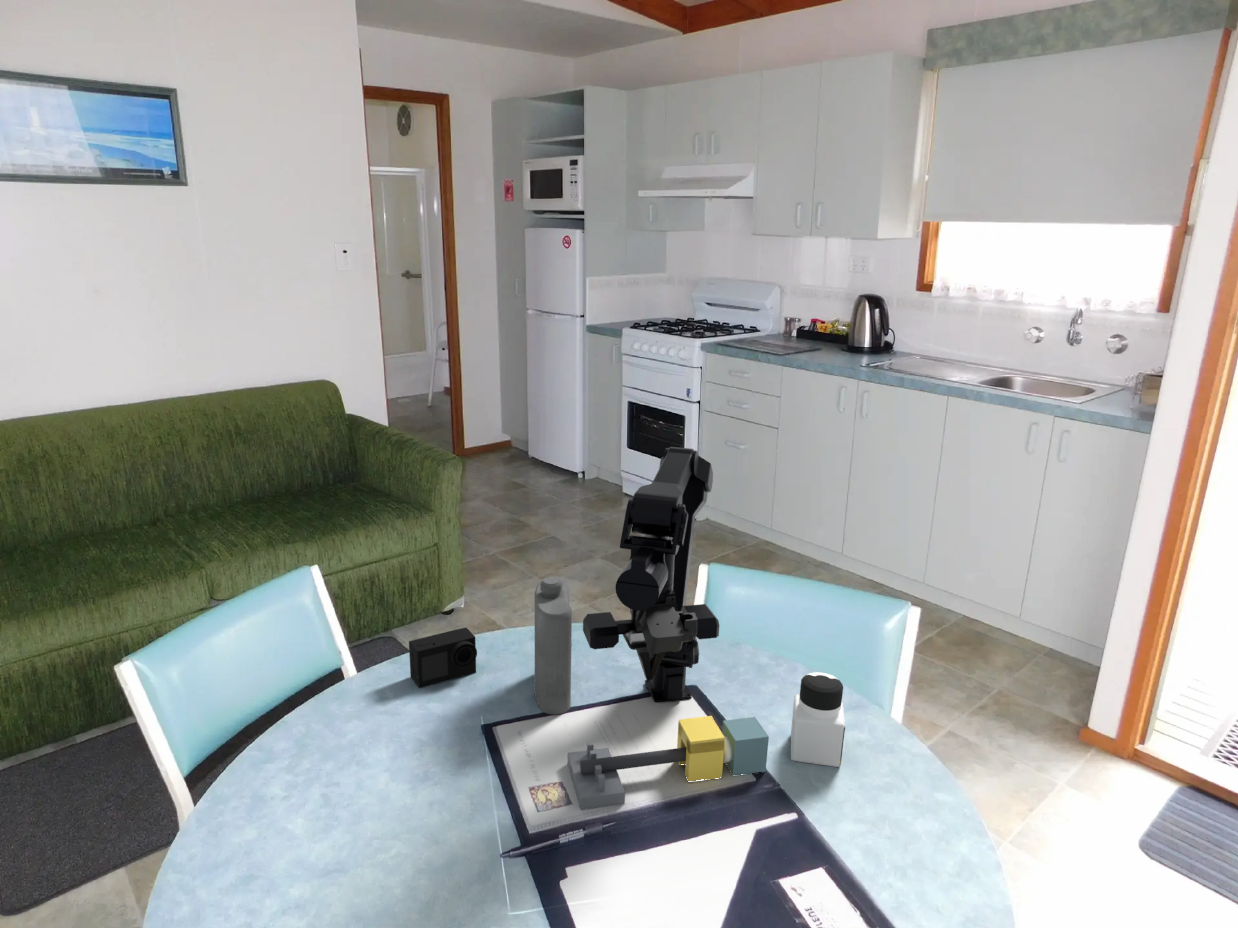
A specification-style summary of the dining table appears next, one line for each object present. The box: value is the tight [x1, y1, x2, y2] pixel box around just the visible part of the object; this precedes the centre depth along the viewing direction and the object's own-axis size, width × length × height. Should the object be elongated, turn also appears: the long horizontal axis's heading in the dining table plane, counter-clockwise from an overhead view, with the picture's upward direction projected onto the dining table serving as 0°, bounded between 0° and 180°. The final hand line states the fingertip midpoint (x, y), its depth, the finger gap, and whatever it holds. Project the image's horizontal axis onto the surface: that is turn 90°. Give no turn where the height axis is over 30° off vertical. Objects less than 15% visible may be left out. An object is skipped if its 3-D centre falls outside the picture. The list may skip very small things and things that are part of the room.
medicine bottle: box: [790, 671, 846, 768], centre depth 122 cm, size 7×7×12 cm
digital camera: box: [408, 627, 478, 689], centre depth 140 cm, size 10×5×7 cm, turn 122°
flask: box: [534, 576, 573, 716], centre depth 135 cm, size 15×6×20 cm, turn 5°
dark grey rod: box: [580, 716, 770, 776], centre depth 116 cm, size 26×5×6 cm, turn 104°
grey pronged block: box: [567, 741, 626, 811], centre depth 114 cm, size 10×6×4 cm, turn 14°
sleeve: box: [676, 715, 725, 781], centre depth 117 cm, size 5×5×7 cm
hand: (648, 678), depth 119 cm, fingers closed
